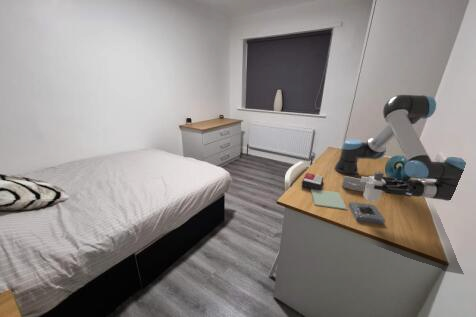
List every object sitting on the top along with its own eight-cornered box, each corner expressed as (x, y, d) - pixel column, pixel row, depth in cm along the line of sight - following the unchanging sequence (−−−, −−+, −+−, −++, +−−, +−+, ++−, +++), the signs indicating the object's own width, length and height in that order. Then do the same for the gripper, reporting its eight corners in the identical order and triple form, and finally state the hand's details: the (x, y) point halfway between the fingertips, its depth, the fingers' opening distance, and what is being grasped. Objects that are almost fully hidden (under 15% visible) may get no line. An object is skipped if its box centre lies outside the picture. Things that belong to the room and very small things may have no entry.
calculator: (323, 176, 130) (321, 184, 117) (322, 182, 131) (319, 190, 118) (306, 172, 134) (302, 179, 121) (305, 178, 136) (301, 185, 123)
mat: (310, 189, 120) (310, 189, 120) (338, 193, 117) (338, 192, 117) (314, 205, 106) (315, 204, 105) (346, 209, 103) (347, 208, 103)
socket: (348, 205, 106) (349, 201, 105) (372, 209, 104) (374, 205, 103) (356, 220, 95) (357, 216, 94) (383, 224, 93) (385, 220, 92)
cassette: (341, 187, 124) (344, 176, 121) (341, 186, 126) (344, 175, 123) (363, 192, 120) (366, 181, 117) (362, 190, 122) (366, 179, 119)
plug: (362, 195, 99) (371, 170, 93) (373, 196, 98) (382, 171, 92) (366, 200, 94) (375, 175, 89) (378, 202, 93) (388, 176, 88)
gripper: (429, 207, 83) (369, 199, 87) (404, 185, 99) (355, 180, 103) (436, 192, 80) (374, 184, 84) (410, 172, 96) (358, 167, 100)
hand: (363, 182), depth 93 cm, fingers closed on plug, 5 cm apart
